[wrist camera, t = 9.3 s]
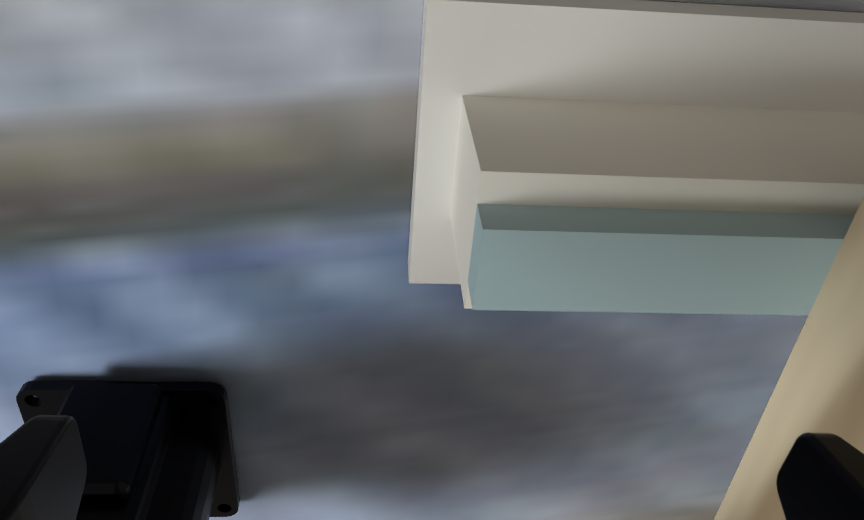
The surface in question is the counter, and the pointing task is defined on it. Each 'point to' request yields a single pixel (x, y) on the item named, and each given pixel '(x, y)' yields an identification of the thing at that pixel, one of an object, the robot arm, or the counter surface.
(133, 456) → the robot arm
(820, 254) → the ridge stand
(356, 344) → the counter surface
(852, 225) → the birch bar
